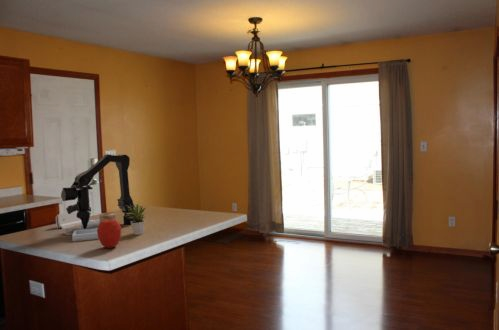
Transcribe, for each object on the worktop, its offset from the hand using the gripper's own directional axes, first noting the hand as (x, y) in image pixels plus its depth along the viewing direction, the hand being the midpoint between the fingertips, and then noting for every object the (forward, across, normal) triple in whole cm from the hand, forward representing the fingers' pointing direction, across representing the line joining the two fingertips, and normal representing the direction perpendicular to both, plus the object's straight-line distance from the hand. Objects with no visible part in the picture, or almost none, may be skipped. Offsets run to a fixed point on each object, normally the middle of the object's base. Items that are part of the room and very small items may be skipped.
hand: (85, 227), depth 218 cm
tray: (+2, +14, +4) cm, 14 cm away
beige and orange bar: (0, 0, +4) cm, 4 cm away
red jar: (+2, +39, +12) cm, 41 cm away
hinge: (+3, -23, -9) cm, 24 cm away
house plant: (+2, +15, +26) cm, 30 cm away
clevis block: (+2, 0, +3) cm, 4 cm away
